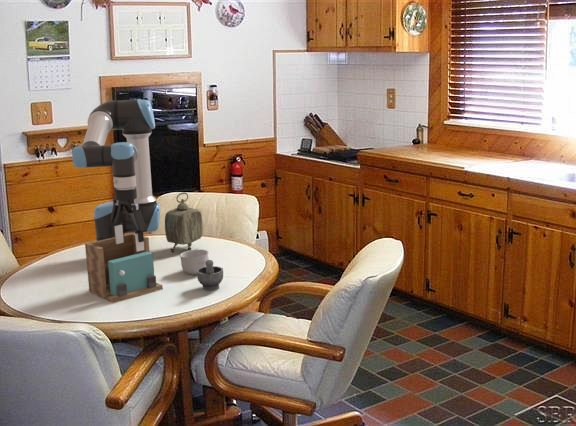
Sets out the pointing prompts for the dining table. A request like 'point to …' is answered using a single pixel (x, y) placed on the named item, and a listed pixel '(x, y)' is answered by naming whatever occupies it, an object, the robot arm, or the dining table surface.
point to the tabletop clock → (183, 224)
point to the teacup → (193, 260)
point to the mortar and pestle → (210, 276)
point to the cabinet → (99, 269)
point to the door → (131, 272)
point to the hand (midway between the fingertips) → (129, 246)
